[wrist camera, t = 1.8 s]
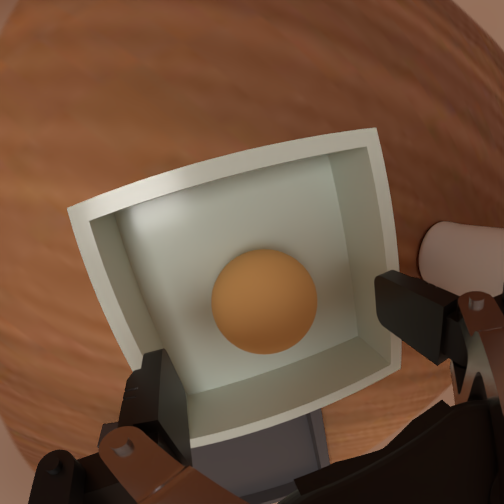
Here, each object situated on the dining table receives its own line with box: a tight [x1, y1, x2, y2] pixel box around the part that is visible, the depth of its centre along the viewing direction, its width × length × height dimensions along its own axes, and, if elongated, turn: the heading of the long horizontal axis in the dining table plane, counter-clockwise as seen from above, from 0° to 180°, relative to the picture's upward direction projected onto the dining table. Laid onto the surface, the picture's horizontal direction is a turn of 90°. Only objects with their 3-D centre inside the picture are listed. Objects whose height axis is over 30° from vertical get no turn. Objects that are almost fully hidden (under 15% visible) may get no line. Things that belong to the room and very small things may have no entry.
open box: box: [67, 128, 402, 448], centre depth 15 cm, size 14×14×5 cm
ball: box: [211, 249, 317, 355], centre depth 14 cm, size 5×5×5 cm
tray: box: [97, 408, 330, 504], centre depth 19 cm, size 16×14×2 cm
